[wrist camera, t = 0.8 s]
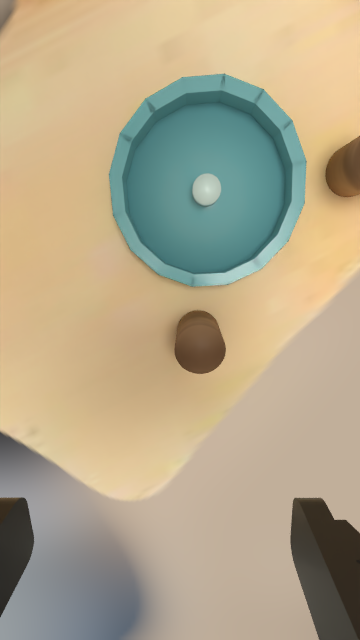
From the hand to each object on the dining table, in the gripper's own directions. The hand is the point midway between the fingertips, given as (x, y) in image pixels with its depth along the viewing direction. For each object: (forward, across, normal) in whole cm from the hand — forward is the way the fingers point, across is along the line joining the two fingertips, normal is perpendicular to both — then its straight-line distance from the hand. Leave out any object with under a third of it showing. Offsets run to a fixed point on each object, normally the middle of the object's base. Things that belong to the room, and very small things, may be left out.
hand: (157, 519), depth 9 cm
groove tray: (+18, -2, -12) cm, 21 cm away
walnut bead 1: (+18, -2, -1) cm, 18 cm away
